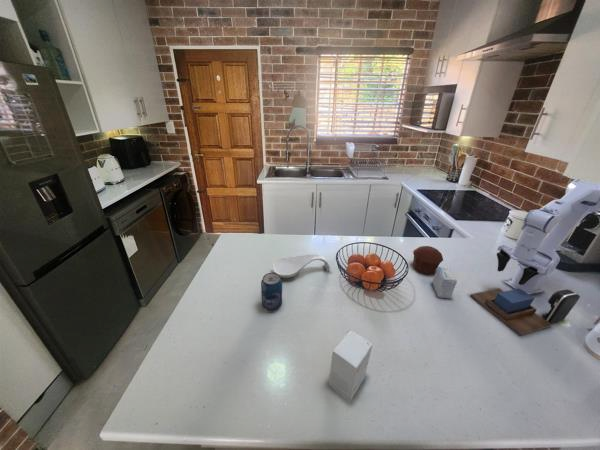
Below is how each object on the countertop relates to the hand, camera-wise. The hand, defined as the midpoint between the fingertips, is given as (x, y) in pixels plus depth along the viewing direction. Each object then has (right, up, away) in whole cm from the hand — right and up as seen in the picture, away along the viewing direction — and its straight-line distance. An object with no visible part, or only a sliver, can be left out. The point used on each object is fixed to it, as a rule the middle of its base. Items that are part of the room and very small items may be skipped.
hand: (510, 277), depth 89 cm
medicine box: (-22, -7, +6) cm, 24 cm away
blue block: (-3, -11, -2) cm, 11 cm away
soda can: (-85, -9, -4) cm, 86 cm away
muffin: (-22, 0, +19) cm, 29 cm away
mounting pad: (-3, -11, -2) cm, 12 cm away
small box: (-64, -21, -26) cm, 72 cm away
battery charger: (+10, -13, -4) cm, 17 cm away
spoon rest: (-75, -1, +14) cm, 77 cm away
